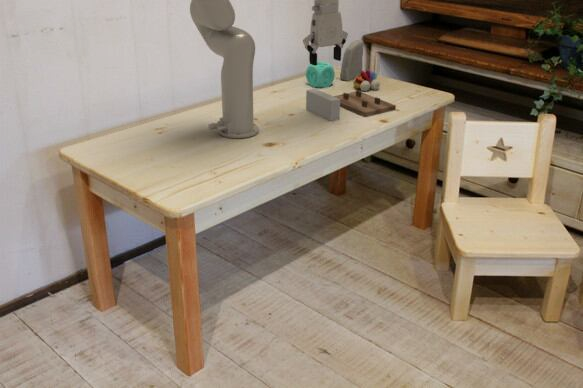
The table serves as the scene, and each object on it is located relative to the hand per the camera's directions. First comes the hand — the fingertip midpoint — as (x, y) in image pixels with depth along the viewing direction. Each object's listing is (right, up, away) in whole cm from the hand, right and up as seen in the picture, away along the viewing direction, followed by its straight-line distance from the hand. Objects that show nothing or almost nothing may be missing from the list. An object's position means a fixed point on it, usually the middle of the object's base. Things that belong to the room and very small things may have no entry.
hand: (325, 62), depth 205 cm
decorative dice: (0, -1, +39) cm, 38 cm away
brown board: (+13, -12, +16) cm, 24 cm away
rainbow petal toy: (+17, -3, +35) cm, 39 cm away
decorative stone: (+13, +3, +47) cm, 49 cm away
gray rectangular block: (-1, -16, +8) cm, 18 cm away
